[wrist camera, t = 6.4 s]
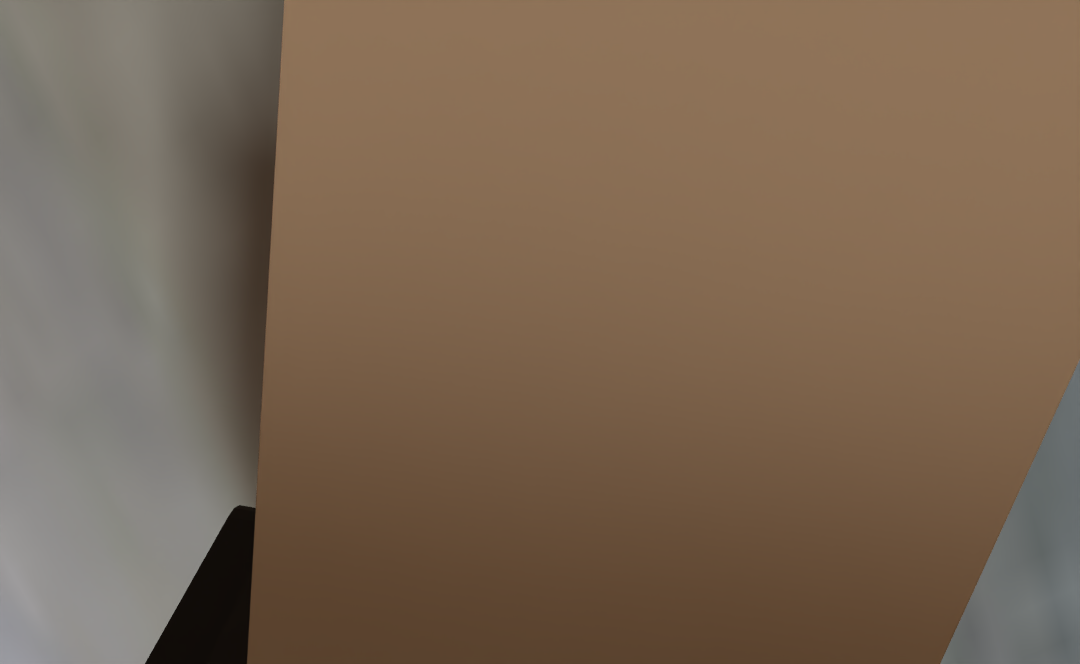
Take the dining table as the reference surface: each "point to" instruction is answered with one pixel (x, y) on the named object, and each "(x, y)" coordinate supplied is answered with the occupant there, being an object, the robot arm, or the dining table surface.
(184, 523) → the dining table surface
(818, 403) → the tan rectangular block
